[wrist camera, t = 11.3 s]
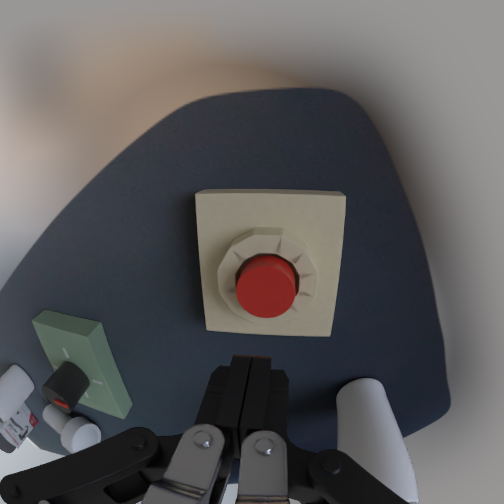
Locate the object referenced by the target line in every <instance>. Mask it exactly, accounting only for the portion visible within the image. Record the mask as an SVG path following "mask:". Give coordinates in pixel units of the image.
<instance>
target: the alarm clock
mask: <svg viewBox="0 0 504 504" xmlns="http://www.w3.org/2000/svg"><path fill="white" fill-rule="evenodd" d="M15 448H16V447H15V446H14V445H12V444H11V443H10V442H8V441H7V440H6V439H5V438H4V436H3V435H2V434H1V433H0V449H1V450H2V451H4V452H6V453H11V452H13V451H14V450H15Z"/></svg>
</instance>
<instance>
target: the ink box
mask: <svg viewBox="0 0 504 504" xmlns="http://www.w3.org/2000/svg"><path fill="white" fill-rule="evenodd" d="M37 422H38V421H37V419H36V418H35V417H34V415H33V414H32V413H31V411H30V410H29V408H28V407H27V405H26V404H25V402H23V403H22V404H21V406H20V407H19V408H18V409H17V410H16V412H15V413H14V414H13V415H12V417H11V418H10V419H9V420H8V421H5V422H3V423H1V422H0V433H1V434H2V435H3V436H4V438H5V439H6V440H7V441H8V442H10V443H11V444H12V445H14V446H15V447H17V448H19V447H20V445H21V444H22V442H23V441H24V440H25V438H26V437H27V436H28V434H29V433H30V432H31V430H32V429H33V428H34V426H35V425H36V424H37Z"/></svg>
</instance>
